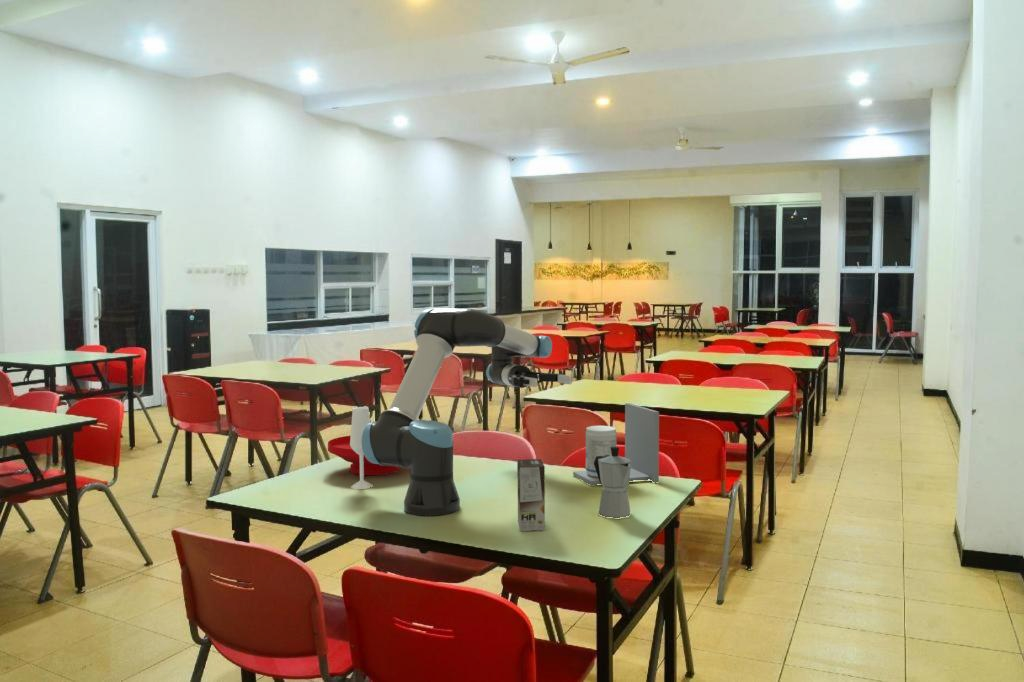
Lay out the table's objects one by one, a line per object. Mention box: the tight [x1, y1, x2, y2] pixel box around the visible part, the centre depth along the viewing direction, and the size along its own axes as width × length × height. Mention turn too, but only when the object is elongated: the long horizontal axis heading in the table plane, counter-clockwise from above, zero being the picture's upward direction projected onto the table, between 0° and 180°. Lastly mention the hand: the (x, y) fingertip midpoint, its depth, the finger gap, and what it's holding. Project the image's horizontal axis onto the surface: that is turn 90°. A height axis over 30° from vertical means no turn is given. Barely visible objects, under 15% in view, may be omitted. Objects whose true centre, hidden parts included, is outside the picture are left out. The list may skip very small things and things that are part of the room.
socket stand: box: [572, 402, 660, 485], centre depth 244 cm, size 20×21×22 cm
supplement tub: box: [585, 425, 617, 477], centre depth 243 cm, size 10×10×15 cm
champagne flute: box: [350, 406, 374, 490], centre depth 235 cm, size 7×7×24 cm
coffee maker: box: [594, 446, 632, 518], centre depth 205 cm, size 15×9×18 cm, turn 30°
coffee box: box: [516, 458, 546, 532], centre depth 194 cm, size 9×6×16 cm
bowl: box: [327, 434, 400, 476], centre depth 258 cm, size 30×30×10 cm
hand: (553, 381), depth 249 cm, fingers open, 13 cm apart
